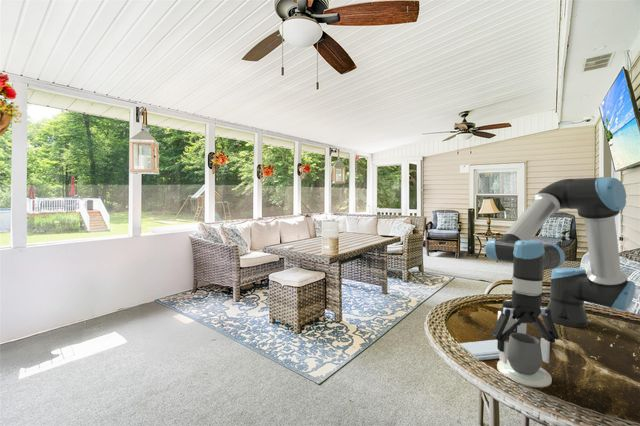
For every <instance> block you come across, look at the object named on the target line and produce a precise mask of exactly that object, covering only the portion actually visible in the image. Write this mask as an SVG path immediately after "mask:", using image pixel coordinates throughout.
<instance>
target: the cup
mask: <svg viewBox="0 0 640 426" xmlns="http://www.w3.org/2000/svg"><path fill="white" fill-rule="evenodd" d="M507 342H508V354H507V359H508V361H509V363H510V365H511V367H512V368H513V369H514V370H516V371H517V372H520V373H523V374H527V375H532V374H535V373H536V372H537V371H538V370H539V368H540V367H541V368H542V366H543V363H544V361H543V359H542V353H541V346H540V345H541V340H540V339H539V338H537V337H536V336H533V335H531V334H528V333H526V334H524V333H512V334H511V335H510V338H509V339H508V341H507Z"/></svg>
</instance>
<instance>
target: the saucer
mask: <svg viewBox="0 0 640 426" xmlns="http://www.w3.org/2000/svg"><path fill="white" fill-rule="evenodd" d="M496 369H497V371H498V373H500V374H501V373H502V374H503V375H505V376H506V377H508V378H510V379H513V380H515V381H517V382H519V383H521V384H524V385H523V386H525V385H527V387H530V388H547V387H549V386H550V385H552V381H553V378H552V375H551V374H550V373H549V372H548V371H547V370H546V369H544V368H542V366H541V367H540V368H539V370H538V371H537V372H536V373H535V374H532V375H527V374H523V373H520V372H517V371H516V370H514V369H513V368H512V367H511V365H510V363H509V361H508V359H507V364H505V363H503V362H502V361H501V360H500V359H499V360H498V361H497V363H496ZM502 374H501V375H502ZM503 375H502V376H503ZM506 377H505V378H506ZM521 384H520V385H521Z"/></svg>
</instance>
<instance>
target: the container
mask: <svg viewBox="0 0 640 426" xmlns="http://www.w3.org/2000/svg"><path fill="white" fill-rule="evenodd" d="M512 306H513V303H512V299H506V300H503V301H502V307H506V308H512ZM511 314H512V315H513V313H511ZM500 315H501V310H498V311H497V320H498V319H499V317H500ZM512 315H511V316H512ZM511 316H510V317H511ZM509 320H510V318H509ZM509 320H508V321H509ZM515 320H517V319H515ZM507 323H508V322H507ZM527 325H528V324H527V323H521V324H520V325H518V326H517V327H516V328H515V330H514V331H513V332H512V333H524V334H527V327H528V326H527ZM512 333H511V334H512ZM508 338H510V336H509V337H508ZM508 338H507V339H508Z"/></svg>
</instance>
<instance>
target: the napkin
mask: <svg viewBox="0 0 640 426" xmlns="http://www.w3.org/2000/svg"><path fill="white" fill-rule="evenodd" d="M458 344H459V345H460V346H461V347H462V348H464V349H465V350H466V351H467V352H468V353H470V354H471V355H472V356H473V357H472V356H471V355H470V354H469V355H470V356H471V357H472V358H474V357H475V358H476V359H478V360H477V361H484V360H485V361H486V360H494V359H499V352H500V351H499V350H498V348H497V344H498V340H496V339H488V340H479V341H468V342H459V343H458ZM467 352H466V353H467ZM468 353H467V354H468ZM475 358H474V359H475ZM476 359H475V360H476Z"/></svg>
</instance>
